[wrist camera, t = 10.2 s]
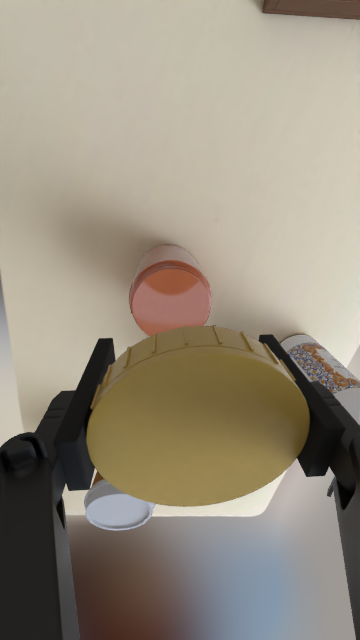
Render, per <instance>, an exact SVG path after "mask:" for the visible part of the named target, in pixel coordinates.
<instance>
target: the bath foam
mask: <svg viewBox="0 0 360 640" xmlns="http://www.w3.org/2000/svg"><path fill="white" fill-rule="evenodd" d="M280 345H281V346H282V347H283V349H284V350H285V351H286V352H287V354H288V355H289V356H290V358H291V359H292V360H293V361H294V363H295V364H296V365H297V366H298V368H299V369H300V370H301V372H302V373H303V374H304V375H305V377H306V378H307V379H308V380H309V382H315V381H318V382H319V383H321V384H322V385H324V386H325V387H327V388H328V389H329V390H330V391H331V392H332V394H333V395H334V396H335V398H336V399H338V401H339V402H340V403H341V405H342V406H343V407H344V408H345V409H346V410H347V411H348V412H349V414H350V415H351V416H352V417H353V418H354V419H355V421H356V422H357V423H358V424H359V425H360V381H359V380H358V379H357V378H356V377H355V376H354V375H353V374H352V373H350V372H349V371H348V370H347V369H346V368H345V367H344V366H343V365H342V364H341V363H340V362H339V361H338V360H336V359H335V358H334V357H333V356H332V355H331V354H330V353H329V352H328V351H327V350H326V349H325V348H324V347H322V346H321V345H320V344H319V343H318V342H317V341H316V340H315V339H313V338H312V337H310V336H307V335H295V336H292V337H289V338H287V339H285V340H284V341H283V342H281V343H280Z"/></svg>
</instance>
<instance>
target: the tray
mask: <svg viewBox="0 0 360 640" xmlns="http://www.w3.org/2000/svg"><path fill="white" fill-rule="evenodd" d="M263 13H270V14H285V15H300V16H314V17H329V18H344V19H359V20H360V0H264V4H263Z"/></svg>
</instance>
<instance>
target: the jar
mask: <svg viewBox="0 0 360 640" xmlns="http://www.w3.org/2000/svg"><path fill="white" fill-rule="evenodd" d="M211 303H212V293H211V288H210V285H209V283H208V281H207V279H206V277H205V275H204V273H203V272H202V270H201V268H200V266H199V265H198V263H197V261H196V259H195V258H194V257H193V255H192V254H191V253H190V252H188V251H187V250H186V249H184V248H182V247H179V246H176V245H161V246H157V247H155V248H153V249H151V250H150V251H148V252H147V253H146V254H145V255H144V256H143V257H142V259H141V260H140V262H139V264H138V267H137V270H136V273H135V276H134V279H133V283H132V286H131V289H130V294H129V304H130V309H131V313H132V314H133V316H134V319H135V321H136V323H137V324H138V326H139V327H140V328H141V329H142V330H143V331H144V332H145V333H146V334H148V335H149V336H153V334H154V333H156V334H158V333H161V332H165V331H168V330H172V329H177V328H182V326H185V327H191V326H203V325H204V324H205V322H206V321H207V319H208V316H209V313H210V308H211Z"/></svg>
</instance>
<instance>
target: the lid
mask: <svg viewBox="0 0 360 640" xmlns="http://www.w3.org/2000/svg"><path fill="white" fill-rule="evenodd" d="M294 381H296V379H295V378H294V376H293V375H292V373H291V372H290V371H289V369H288V368H287V366H286V365H285V364H284V362H283V361H282V360H279V359H278V358H277V357H276V356H275V354H274V353H273V352H272V351H271V350H270V349H269V347H268V346H267V344H265V343H264V344H262V343H261V342H259V341H257V340H256V339H254V338H252V337H250V336H248V335H245V333H244V332H242V331H241V332H237V331H234V330H230V329H227V328H220V327H216V325H213V326H191V327H185V326H182V328H177V329H172V330H168V331H165V332H161V333H158V334H156V333H154V334H153V336H151V337H149V338H146V339H144V340H142V341H140V342H139V343H137V344H136V345H134V346H132V347H128V348H127V351H126V352H125V353H123V354H122V355H121V356H120V357H119V358H118V359H117V360H116V361H115V362H114V363H113V364H112V365H111V364H110V365H109V367H108V370H107V373H106V374H105V376H104V378H103V380H102V382H101V385H99V384H98V387H97V390H96V393H95V396H94V399H93V402H92V405H91V408H90V409H92V412H91V415H90V418H89V422H88V426H87V431H86V442H87V447H88V451H89V455H90V459H91V461H92V463H93V465H94V467H95V468H96V470H97V471H98V472H99V473H100V475H101V476H102V477H103V478H104V479H105V480H106V481H107V482H109V483H110V484H111V485H113V486H114V487H115V488H117V489H118V490H120V491H122V492H124V493H126V494H128V495H130V496H132V497H135V498H137V499H140V500H143V501H147V502H151V503H155V504H160V505H168V506H183V507H186V506H203V505H211V504H216V503H221V502H225V501H229V500H233V499H236V498H239V497H242V496H244V495H247V494H249V493H252V492H254V491H256V490H258V489H260V488H262V487H264V486H265V485H267V484H268V483H270V482H272V481H273V480H274V479H276V478H277V477H278V476H280V475H281V474H282V473H283V472H284V471H285V470H286V469H287V468H289V467H290V466H291V464H292V463H293V462H294V461H295V459H296V458H297V457H298V455H299V454H300V452H301V451H302V449H303V447H304V445H305V442H306V439H307V436H308V433H309V427H310V415H309V408H308V405H307V402H306V399H305V397H304V395H303V394H302V392H301V390H300V389H299V387H298V386H297V384H296V383H295V382H294Z"/></svg>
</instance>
